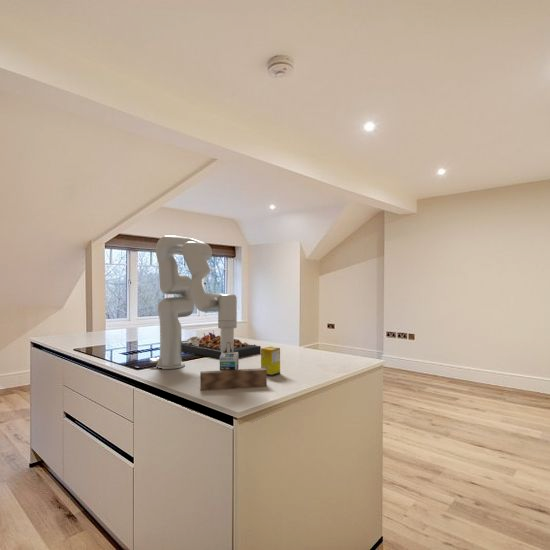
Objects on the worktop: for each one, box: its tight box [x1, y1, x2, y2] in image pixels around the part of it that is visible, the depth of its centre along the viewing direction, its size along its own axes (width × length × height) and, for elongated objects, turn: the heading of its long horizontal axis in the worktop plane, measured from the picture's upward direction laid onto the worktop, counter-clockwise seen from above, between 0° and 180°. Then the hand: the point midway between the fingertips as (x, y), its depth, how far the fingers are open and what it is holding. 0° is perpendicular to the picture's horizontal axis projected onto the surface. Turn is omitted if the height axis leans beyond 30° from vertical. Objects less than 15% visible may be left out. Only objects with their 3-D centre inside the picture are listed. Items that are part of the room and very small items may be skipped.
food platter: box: [181, 329, 262, 360], centre depth 206 cm, size 45×25×10 cm, turn 49°
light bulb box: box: [219, 352, 240, 371], centre depth 142 cm, size 11×7×11 cm, turn 3°
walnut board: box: [199, 367, 268, 391], centre depth 135 cm, size 24×3×6 cm, turn 102°
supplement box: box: [260, 346, 281, 377], centre depth 154 cm, size 6×6×11 cm
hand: (227, 369), depth 150 cm, fingers closed
